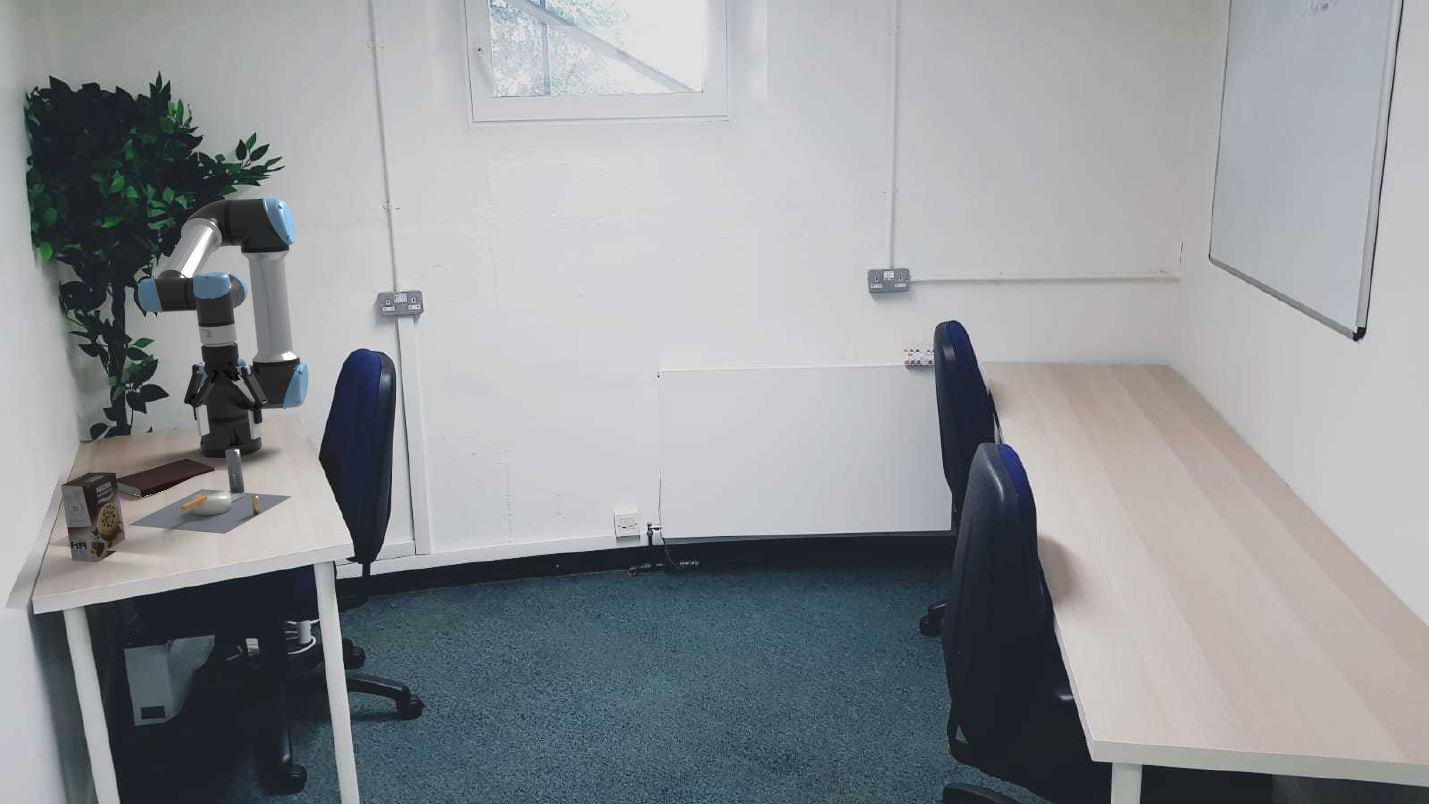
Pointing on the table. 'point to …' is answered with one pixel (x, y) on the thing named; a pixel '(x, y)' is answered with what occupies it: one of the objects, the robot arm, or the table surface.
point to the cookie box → (93, 515)
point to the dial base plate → (216, 523)
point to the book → (162, 477)
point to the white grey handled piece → (221, 499)
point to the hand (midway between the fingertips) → (230, 436)
